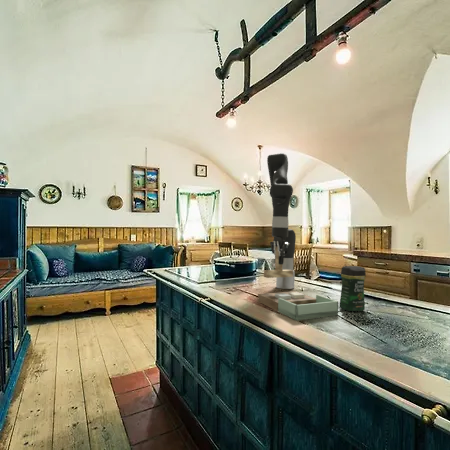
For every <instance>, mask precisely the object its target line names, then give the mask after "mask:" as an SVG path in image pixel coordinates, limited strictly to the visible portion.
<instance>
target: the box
mask: <svg viewBox="0 0 450 450" xmlns="http://www.w3.org/2000/svg"><path fill="white" fill-rule="evenodd" d="M315 299H316V303H310V304H300V305H296V304H294V303H291V302H289V301H286V300H284V299H282V298H278V311H277V312H278V313H280V314H282V315H283V316H287V317H288V318H290V319H292V320H294V321H304V320H312V319H319V318H320V317H321V318H327V317H328V316H329V317H336V316H335V315H337V316H339V301H338V300H336V299H332V298H329V297H326V296H323V295H320V294H316V295H315Z"/></svg>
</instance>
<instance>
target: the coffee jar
mask: <svg viewBox="0 0 450 450" xmlns="http://www.w3.org/2000/svg"><path fill="white" fill-rule="evenodd" d="M340 276H341V277H340V278H341V288H340V289H341V291H340V298H339V299H340V300H339V308H340V309H341V310H342V311H345V310H346V311H347V312H350V311H352V312H353V311H358V312H364V311H365V309H366V308H365V307H366V303H365V301H366V300H365V280H366V276H367V275H366V268H365V267H362V266H358V265H348V266H347V265H346V266H345V265H344V266H342V268H341V271H340ZM363 310H364V311H363Z"/></svg>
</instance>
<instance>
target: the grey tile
mask: <svg viewBox="0 0 450 450" xmlns="http://www.w3.org/2000/svg"><path fill="white" fill-rule="evenodd" d="M275 297H276V298H282V299H284V300H286V299H291V295H288V294H286V293H279V294H275Z"/></svg>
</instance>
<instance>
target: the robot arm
mask: <svg viewBox="0 0 450 450" xmlns="http://www.w3.org/2000/svg"><path fill="white" fill-rule="evenodd" d="M266 161H267V169H268V174H269V175H268V176H269V181H270V188H269V196H270V197H271V202H272V203H271V205H272V220H271V221H272V222H271V237H272V238H273V240H272V241H270V242H269V244H270V249H271V253H272V254H273V255H274V259H275V258H276V247H278V251H279V264H283V266H282V270H293V277H277V278H276V283H275V287H276V288H277V289H284V290H291V289H295V280H296V279H295V277H296V275H295V273H296V272H295V270H294V258H295V257H294V256H295V251H296V241H297V239H296V232H295V230H294V229H292V228H291V229H290V228H289V206H290V202H291V199H292V196H293V193H294V188H293V186H292V184H290V183H289V182H288V170H289V160H288V155H287V154H286V153H285V152H284V153H282V152H281V153H274V154H269V155H268V156H267V160H266ZM281 251H282V252H281Z"/></svg>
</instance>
